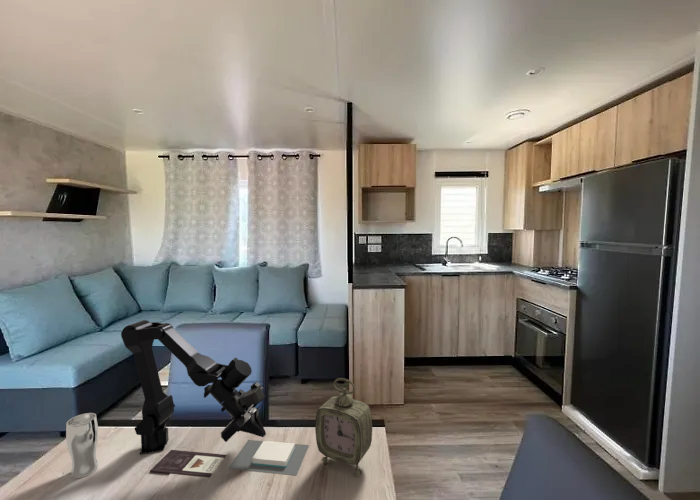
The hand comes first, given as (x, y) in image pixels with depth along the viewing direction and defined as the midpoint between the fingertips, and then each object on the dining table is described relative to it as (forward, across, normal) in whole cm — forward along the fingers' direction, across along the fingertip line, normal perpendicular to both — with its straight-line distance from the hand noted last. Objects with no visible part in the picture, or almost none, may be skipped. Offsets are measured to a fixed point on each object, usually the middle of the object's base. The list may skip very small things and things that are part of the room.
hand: (264, 435), depth 99 cm
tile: (+2, 0, +5) cm, 6 cm away
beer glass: (-29, -12, +39) cm, 50 cm away
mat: (+6, 0, +4) cm, 7 cm away
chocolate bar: (-9, -6, +20) cm, 23 cm away
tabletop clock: (+22, +1, -12) cm, 25 cm away
